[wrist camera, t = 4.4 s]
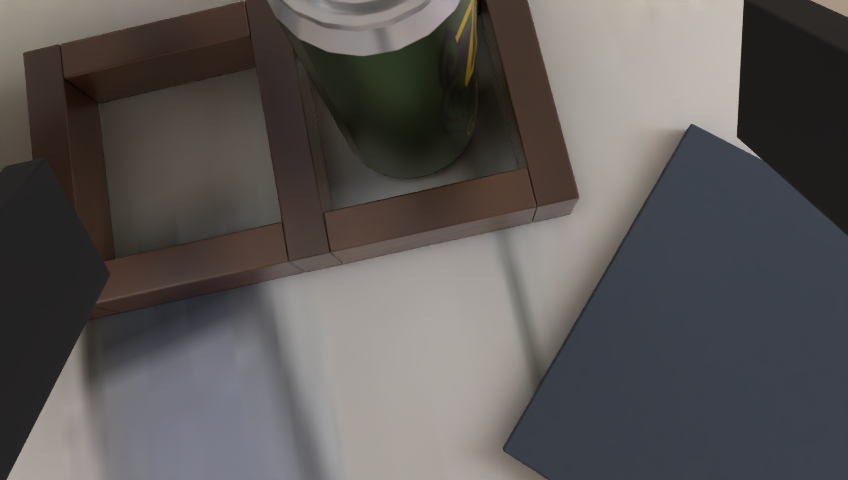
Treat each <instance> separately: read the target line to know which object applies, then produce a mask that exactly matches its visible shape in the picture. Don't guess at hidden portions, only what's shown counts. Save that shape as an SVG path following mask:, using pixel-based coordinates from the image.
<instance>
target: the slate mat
mask: <svg viewBox="0 0 848 480" xmlns="http://www.w3.org/2000/svg"><path fill="white" fill-rule="evenodd" d="M503 451H504V452H506V453H507V454H509V455H511V456H512V457H514V458H515V459H517V460H518V461H520V462H522V463H523V464H525V465H526V466H528V467H529V468H531V469H533V470H534V471H536V472H537V473H539V474H540V475H542V476H544V477H545V478H547V479H548V480H848V236H847V235H846V234H845V233H844V232H843V231H842V230H841V229H839V228H838V227H837V226H836V225H835V224H834V223H833V222H832V221H830V220H829V219H828V218H827V217H826V216H825V215H824V214H823V213H822V212H820V211H819V210H818V209H817V208H816V207H815V206H814V205H813V204H811V203H810V202H809V201H808V200H807V199H806V198H805V197H804V196H803V195H801V194H800V193H799V192H798V191H797V190H796V189H795V188H794V187H792V186H791V185H790V184H789V183H788V182H787V181H786V180H785V179H784V178H782V177H781V176H780V175H779V174H778V173H777V172H776V171H775V170H773V169H772V168H771V167H770V166H769V165H768V164H767V163H766V162H764V161H763V160H761V159H759V158H757V157H755V156H753V155H751V154H749V153H747V152H745V151H744V150H742V149H740V148H738V147H736V146H734V145H732V144H730V143H728V142H726V141H724V140H722V139H720V138H718V137H716V136H715V135H713V134H711V133H709V132H707V131H705V130H703V129H701V128H699V127H697V126H695V125H693V124H691V125H690V126H689V128H688V129H687V130H686V132H685V134H684V135H683V137H682V139H681V141H680V142H679V144H678V146H677V148H676V149H675V151H674V153H673V155H672V156H671V158H670V160H669V161H668V163H667V165H666V167H665V168H664V170H663V172H662V174H661V175H660V177H659V179H658V180H657V182H656V184H655V186H654V187H653V189H652V191H651V193H650V194H649V196H648V198H647V199H646V201H645V203H644V205H643V206H642V208H641V210H640V212H639V213H638V215H637V217H636V219H635V220H634V222H633V224H632V225H631V227H630V229H629V231H628V232H627V234H626V236H625V238H624V239H623V241H622V243H621V244H620V246H619V248H618V250H617V251H616V253H615V255H614V257H613V258H612V260H611V262H610V263H609V265H608V267H607V269H606V270H605V272H604V274H603V276H602V277H601V279H600V281H599V282H598V284H597V286H596V288H595V289H594V291H593V293H592V295H591V296H590V298H589V300H588V302H587V303H586V305H585V307H584V308H583V310H582V312H581V314H580V315H579V317H578V319H577V321H576V322H575V324H574V326H573V327H572V329H571V331H570V333H569V334H568V336H567V338H566V340H565V341H564V343H563V345H562V346H561V348H560V350H559V352H558V353H557V355H556V357H555V359H554V360H553V362H552V364H551V366H550V367H549V369H548V371H547V372H546V374H545V376H544V378H543V379H542V381H541V383H540V385H539V386H538V388H537V390H536V391H535V393H534V395H533V397H532V398H531V400H530V402H529V404H528V405H527V407H526V409H525V410H524V412H523V414H522V416H521V417H520V419H519V421H518V423H517V424H516V426H515V428H514V429H513V431H512V433H511V435H510V436H509V438H508V440H507V442H506V443H505V445H504V447H503Z"/></svg>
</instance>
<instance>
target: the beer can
mask: <svg viewBox="0 0 848 480" xmlns="http://www.w3.org/2000/svg"><path fill="white" fill-rule="evenodd" d="M267 1H268V3H269V5H270V7H271V9H272V11H273V13H274V15H275V17H276V18H277V20H278V22H279V24H280V25H281V27H282V29H283V31H284V32H285V34H286V36H287V38H288V40H289V41H290V43H291V45H292V47H293V48H294V50H295V52H296V54H297V55H298V57H299V59H300V61H301V62H302V64H303V66H304V68H305V70H306V71H307V73H308V75H309V77H310V78H311V80H312V82H313V84H314V85H315V87H316V89H317V91H318V92H319V94H320V96H321V98H322V100H323V101H324V103H325V105H326V107H327V108H328V110H329V112H330V114H331V115H332V117H333V119H334V121H335V122H336V124H337V126H338V128H339V130H340V131H341V133H342V135H343V137H344V138H345V140H346V142H347V144H348V145H349V147H350V149H351V151H352V152H353V153H354V154H355V155H356V156H357V157H358V158H359V159H360V160H361V161H362V162H363V163H364V164H365V165H366V166H368V167H370V168H372V169H374V170H376V171H378V172H380V173H382V174H384V175H387V176H394V177H401V178H413V177H419V176H425V175H430V174H432V173H434V172H436V171H438V170H440V169H442V168H444V167H446V166H448V165H449V164H450V163H452V162H453V161H454V160H455V159H456V158H457V157H458V156H459V155H460V154H461V153H462V152H463V151H464V150H465V148H466V146H467V144H468V142H469V141H470V139H471V137H472V135H473V133H474V131H475V126H476V119H477V113H478V71H477V0H267Z"/></svg>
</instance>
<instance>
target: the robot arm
mask: <svg viewBox="0 0 848 480" xmlns="http://www.w3.org/2000/svg"><path fill="white" fill-rule="evenodd" d="M737 137H738V138H739V139H740V140H741V141H742V142H743V143H744V144H745V145H747V146H748V147H749V148H750V149H751V150H752V151H753V152H754V153H756V154H757V155H758V156H759V157H760V158H761V159H762V160H763V161H764V162H766V163H767V164H768V165H769V166H770V167H771V168H772V169H773V170H775V171H776V172H777V173H778V174H779V175H780V176H781V177H782V178H784V179H785V180H786V181H787V182H788V183H789V184H790V185H791V186H792V187H794V188H795V189H796V190H797V191H798V192H799V193H800V194H801V195H803V196H804V197H805V198H806V199H807V200H808V201H809V202H810V203H811V204H813V205H814V206H815V207H816V208H817V209H818V210H819V211H820V212H822V213H823V214H824V215H825V216H826V217H827V218H828V219H829V220H830V221H832V222H833V223H834V224H835V225H836V226H837V227H838V228H839V229H841V230H842V231H843V232H844V233H845V234H846V235H847V236H848V17H846V16H844V15H841V14H839V13H837V12H835V11H833V10H830V9H828V8H826V7H824V6H822V5H819V4H817V3H815V2H813V1H811V0H744V8H743V27H742V47H741V67H740V86H739V106H738V125H737ZM109 276H110V272H109V270H108V268H107V267H106V265H105V263H104V261H103V259H102V258H101V256H100V254H99V252H98V250H97V249H96V247H95V245H94V243H93V242H92V240H91V238H90V236H89V234H88V233H87V231H86V229H85V227H84V225H83V224H82V222H81V220H80V218H79V217H78V215H77V213H76V211H75V209H74V208H73V206H72V204H71V202H70V200H69V199H68V197H67V195H66V193H65V192H64V190H63V188H62V186H61V184H60V183H59V181H58V179H57V177H56V175H55V174H54V172H53V170H52V168H51V167H50V165H49V163H48V161H47V159H46V158H41V159H36V160H32V161H27V162H23V163H19V164H14V165H10V166H6V167H5V168H4V169H3V170H2V171H1V172H0V480H7V478H8V476H9V474H10V472H11V470H12V468H13V466H14V464H15V462H16V460H17V458H18V456H19V454H20V452H21V450H22V448H23V446H24V444H25V442H26V440H27V438H28V436H29V434H30V432H31V430H32V428H33V426H34V424H35V422H36V420H37V418H38V416H39V414H40V412H41V410H42V409H43V407H44V405H45V403H46V401H47V399H48V397H49V395H50V393H51V391H52V389H53V387H54V385H55V383H56V381H57V379H58V377H59V375H60V373H61V371H62V369H63V367H64V365H65V363H66V361H67V359H68V357H69V355H70V353H71V351H72V349H73V347H74V345H75V343H76V341H77V340H78V338H79V336H80V334H81V332H82V330H83V328H84V326H85V324H86V322H87V320H88V318H89V316H90V314H91V312H92V310H93V308H94V306H95V304H96V302H97V300H98V298H99V296H100V294H101V292H102V290H103V288H104V286H105V284H106V282H107V280H108V278H109Z"/></svg>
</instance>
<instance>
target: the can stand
mask: <svg viewBox="0 0 848 480" xmlns="http://www.w3.org/2000/svg"><path fill="white" fill-rule="evenodd" d="M480 13H481V17H482V21H483V25H484V29H485V33H486V37H487V41H488V45H489V49H490V54H491V58H492V62H493V66H494V70H495V74H496V78H497V82H498V86H499V90H500V94H501V98H502V102H503V106H504V110H505V114H506V118H507V122H508V126H509V130H510V134H511V138H512V143H513V147H514V151H515V155H516V159H517V163H518V167H519V169H517V170H512V171H508V172H503V173H499V174H494V175H490V176H485V177H481V178H476V179H472V180H467V181H463V182H458V183H454V184H449V185H445V186H440V187H436V188H431V189H427V190H422V191H418V192H413V193H409V194H404V195H400V196H395V197H391V198H386V199H382V200H377V201H373V202H368V203H364V204H359V205H355V206H350V207H346V208H341V209H337V210H333V205H332V200H331V195H330V189H329V184H328V178H327V173H326V168H325V162H324V157H323V151H322V146H321V140H320V135H319V130H318V124H317V119H316V113H315V108H314V103H313V97H312V92H311V86H310V81H309V76H308V73H307V71H306V70H305V68H304V66H303V64H302V62H301V61H300V59H299V57H298V55H297V54H296V52H295V50H294V48H293V47H292V45H291V43H290V41H289V40H288V38H287V36H286V34H285V32H284V31H283V29H282V27H281V25H280V24H279V22H278V20H277V18H276V17H275V15H274V13H273V11H272V9H271V7H270V5H269V3H268V1H267V0H246V1H245V2H244V1H242V2H238V3H233V4H229V5H225V6H221V7H216V8H212V9H208V10H204V11H199V12H195V13H191V14H187V15H182V16H178V17H174V18H170V19H165V20H161V21H157V22H153V23H148V24H144V25H140V26H136V27H131V28H127V29H123V30H119V31H114V32H110V33H106V34H102V35H97V36H93V37H89V38H85V39H80V40H76V41H72V42H68V43H63V44H61V45H54V46H50V47H45V48H41V49H37V50H33V51H28V52H24V53H23V56H24V67H25V78H26V89H27V100H28V111H29V123H30V134H31V145H32V156H33V160H36V159H41V158H46V159H47V161H48V163H49V165H50V167H51V168H52V170H53V172H54V174H55V175H56V177H57V179H58V181H59V183H60V184H61V186H62V188H63V190H64V192H65V193H66V195H67V197H68V199H69V200H70V202H71V204H72V206H73V208H74V209H75V211H76V213H77V215H78V217H79V218H80V220H81V222H82V224H83V225H84V227H85V229H86V231H87V233H88V234H89V236H90V238H91V240H92V242H93V243H94V245H95V247H96V249H97V250H98V252H99V254H100V256H101V258H102V259H103V261H104V263H105V265H106V267H107V268H108V270H109V272H110V276H109V278H108V280H107V282H106V284H105V286H104V288H103V290H102V292H101V294H100V296H99V298H98V300H97V302H96V304H95V306H94V308H93V310H92V312H91V314H90V316H89V318H88V320H91V319H95V318H100V317H104V316H109V315H113V314H118V313H121V312H126V311H131V310H135V309H140V308H145V307H149V306H154V305H158V304H163V303H167V302H172V301H176V300H181V299H186V298H190V297H195V296H199V295H204V294H208V293H213V292H217V291H222V290H227V289H231V288H236V287H240V286H245V285H249V284H254V283H258V282H263V281H268V280H272V279H277V278H281V277H286V276H290V275H295V274H299V273H303V272H305V271H306V272H309V271H314V270H318V269H323V268H327V267H332V266H336V265H341V264H343V263H350V262H354V261H359V260H363V259H368V258H373V257H377V256H382V255H386V254H391V253H395V252H400V251H404V250H409V249H414V248H418V247H423V246H427V245H432V244H436V243H441V242H445V241H450V240H455V239H459V238H464V237H468V236H473V235H477V234H482V233H486V232H491V231H496V230H500V229H505V228H509V227H514V226H518V225H523V224H527V223H531V222H537V221H542V220H546V219H551V218H555V217H560V216H564V215H569V214H571V212H572V210H573V208H574V206H575V204H576V202H577V200H578V199H579V194H578V190H577V186H576V182H575V178H574V175H573V171H572V167H571V163H570V160H569V156H568V152H567V148H566V144H565V141H564V137H563V133H562V129H561V125H560V122H559V118H558V114H557V110H556V107H555V103H554V99H553V95H552V91H551V88H550V84H549V80H548V76H547V72H546V69H545V65H544V61H543V57H542V54H541V50H540V46H539V42H538V38H537V35H536V31H535V27H534V23H533V20H532V16H531V12H530V8H529V4H528V1H527V0H477V15H479V14H480ZM253 67H256V69H257V75H258V81H259V87H260V93H261V99H262V105H263V111H264V117H265V123H266V129H267V134H268V140H269V146H270V152H271V158H272V164H273V170H274V176H275V182H276V188H277V194H278V200H279V206H280V212H281V218H282V223H281V222H279V223H274V224H270V225H265V226H261V227H256V228H252V229H248V230H243V231H239V232H234V233H230V234H225V235H221V236H216V237H212V238H207V239H203V240H198V241H194V242H189V243H185V244H180V245H176V246H171V247H167V248H162V249H158V250H153V251H149V252H144V253H140V254H135V255H131V256H126V257H122V258H117V259H115V253H114V244H113V236H112V227H111V218H110V209H109V200H108V192H107V183H106V174H105V165H104V156H103V148H102V139H101V130H100V121H99V112H98V104H97V103H101V102H106V101H110V100H114V99H119V98H123V97H127V96H132V95H136V94H140V93H145V92H149V91H153V90H158V89H162V88H166V87H171V86H175V85H179V84H184V83H188V82H192V81H197V80H201V79H205V78H209V77H214V76H218V75H222V74H227V73H231V72H235V71H240V70H244V69H248V68H253Z"/></svg>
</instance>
